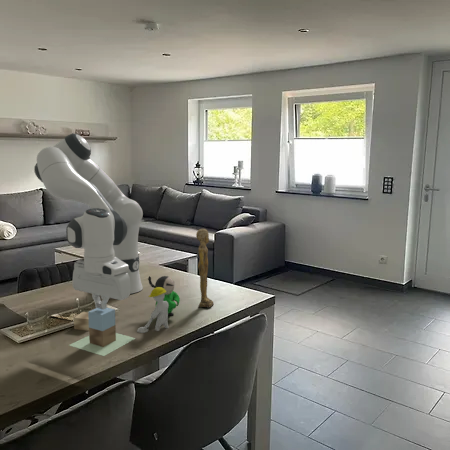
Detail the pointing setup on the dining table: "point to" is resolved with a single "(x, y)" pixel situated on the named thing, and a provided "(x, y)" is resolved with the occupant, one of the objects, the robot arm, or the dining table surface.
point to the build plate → (99, 350)
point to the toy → (167, 292)
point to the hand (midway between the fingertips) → (101, 308)
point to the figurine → (158, 310)
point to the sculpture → (203, 266)
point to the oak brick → (81, 321)
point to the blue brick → (101, 318)
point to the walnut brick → (102, 336)
